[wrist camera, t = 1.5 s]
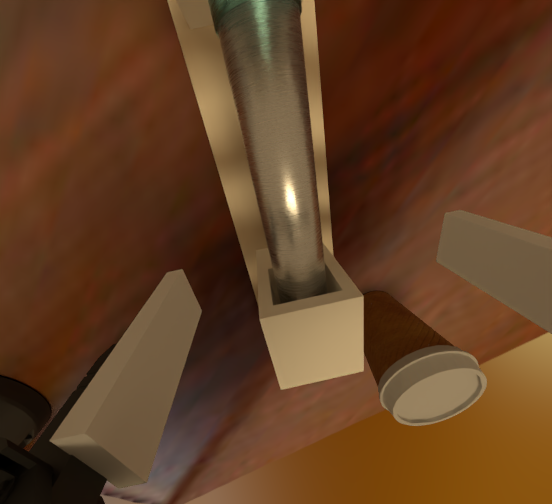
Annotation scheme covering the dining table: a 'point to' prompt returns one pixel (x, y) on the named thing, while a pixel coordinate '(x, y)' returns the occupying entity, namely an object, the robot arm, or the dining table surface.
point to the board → (227, 136)
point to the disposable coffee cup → (416, 365)
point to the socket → (196, 12)
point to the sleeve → (312, 326)
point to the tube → (276, 134)
